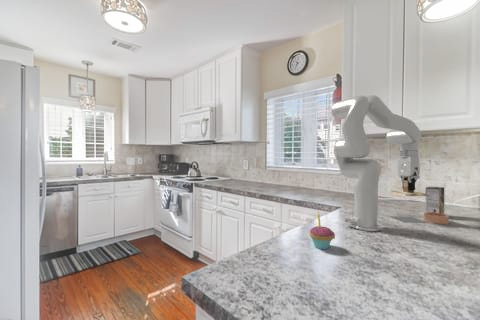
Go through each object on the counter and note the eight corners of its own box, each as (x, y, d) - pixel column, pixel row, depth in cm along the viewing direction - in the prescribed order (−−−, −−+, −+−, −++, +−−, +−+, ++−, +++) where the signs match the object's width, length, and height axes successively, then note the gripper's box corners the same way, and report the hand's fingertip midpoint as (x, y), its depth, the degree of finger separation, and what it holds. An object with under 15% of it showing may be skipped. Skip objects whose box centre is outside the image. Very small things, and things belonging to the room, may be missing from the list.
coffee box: (430, 213, 132) (430, 186, 132) (444, 215, 126) (444, 187, 126) (425, 215, 126) (425, 187, 126) (439, 218, 121) (440, 188, 121)
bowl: (434, 224, 109) (434, 216, 109) (420, 219, 118) (420, 211, 118) (453, 224, 109) (453, 216, 109) (437, 219, 118) (437, 212, 118)
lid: (405, 196, 111) (405, 181, 111) (390, 192, 122) (391, 179, 122) (427, 196, 111) (428, 181, 111) (411, 193, 122) (411, 179, 122)
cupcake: (304, 244, 83) (304, 211, 83) (322, 241, 86) (322, 209, 86) (321, 253, 75) (321, 217, 75) (340, 249, 78) (340, 214, 78)
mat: (404, 223, 111) (404, 222, 111) (388, 217, 123) (388, 216, 123) (428, 223, 111) (428, 222, 111) (411, 217, 123) (411, 216, 123)
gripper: (391, 154, 125) (390, 187, 125) (413, 153, 109) (413, 191, 109) (405, 154, 125) (404, 187, 125) (429, 154, 108) (428, 192, 108)
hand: (408, 189), depth 117 cm, fingers closed on lid, 3 cm apart
